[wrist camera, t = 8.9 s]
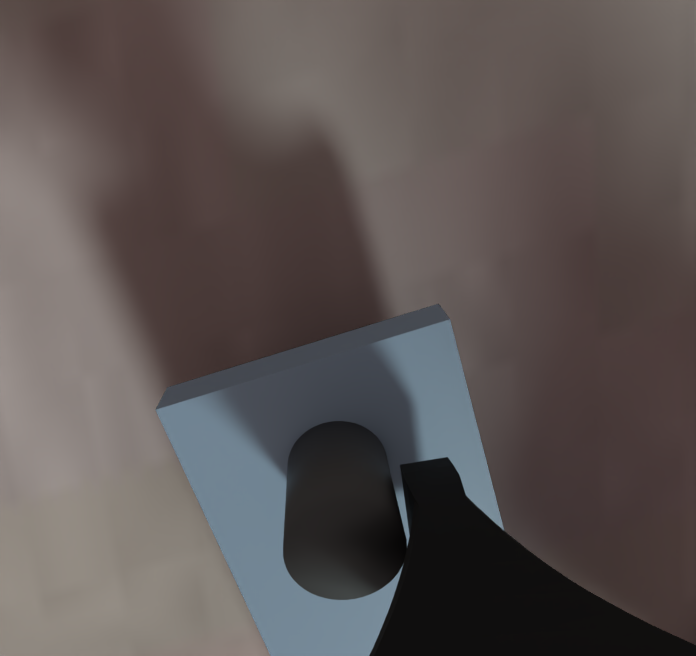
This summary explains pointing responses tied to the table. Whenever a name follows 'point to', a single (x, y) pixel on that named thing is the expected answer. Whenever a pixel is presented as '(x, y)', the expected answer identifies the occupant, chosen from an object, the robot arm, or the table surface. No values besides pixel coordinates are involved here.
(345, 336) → the cover
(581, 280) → the table surface
